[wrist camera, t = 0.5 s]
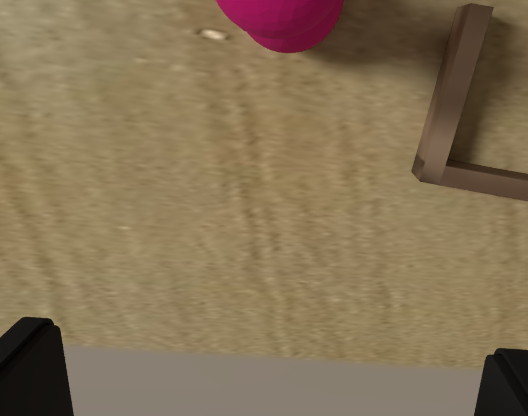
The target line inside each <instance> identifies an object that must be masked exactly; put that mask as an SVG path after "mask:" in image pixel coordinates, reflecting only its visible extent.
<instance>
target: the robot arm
mask: <svg viewBox="0 0 528 416" xmlns="http://www.w3.org/2000/svg"><path fill="white" fill-rule="evenodd" d="M0 416H74V414H73V408H72V401H71V395H70V388H69V382H68V376H67V369H66V363H65V357H64V350H63V344H62V337H61V331H60V328H59V327H58V326H56V325H54V323H53V321H52V320H51V319H49V318H37V317H23V318H21V319H20V320H19V321H18V322H16V323H15V324H14V325H13V326H12V327H11V328H10V329H9V330H8V331H7V332H6V333H5V334H4V335H2V336H1V337H0ZM474 416H528V350H521V349H506V348H498V349H496V351H495V353H494V355H487V357H486V359H485V363H484V368H483V373H482V379H481V383H480V388H479V393H478V398H477V403H476V408H475V413H474Z"/></svg>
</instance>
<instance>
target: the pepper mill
mask: <svg viewBox="0 0 528 416" xmlns="http://www.w3.org/2000/svg"><path fill="white" fill-rule="evenodd" d="M216 1H217V3H218V5H219V7H220V8H221V9H222V11H223V12H224V14H225V15H226V16H227V17H228V18H229V19H230V20H231V21H232V22H234V23H235V24H236V25H237V26H239V27H240V28H241V29H243V30H244V31H246V32H247V33H248V34H249V35H250V36H251V37H252V38H253V39H254V40H255V41H256V42H257V43H259V44H260V45H262V46H263V47H265V48H267V49H270V50H272V51H276V52H281V53H296V52H300V51H304V50H307V49H309V48H311V47H313V46H315V45H316V44H318V43H319V42H321V41H322V40H323V39H324V38H325V37H326V36H327V35H328V34H329V33H330V32H331V30H332V29H333V27H334V26H335V24H336V22H337V21H338V18H339V15H340V13H341V10H342V5H343V0H216Z"/></svg>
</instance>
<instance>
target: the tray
mask: <svg viewBox="0 0 528 416" xmlns="http://www.w3.org/2000/svg"><path fill="white" fill-rule="evenodd" d="M493 8H494V7H489V6H484V5H478V4H472V3H471V4H468V5H464V6H461V7H458V8H457V11H456V15H455V18H454V22H453V26H452V29H451V33H450V36H449V40H448V43H447V47H446V51H445V54H444V58H443V61H442V65H441V68H440V72H439V75H438V79H437V83H436V86H435V90H434V93H433V97H432V100H431V104H430V108H429V111H428V115H427V118H426V122H425V125H424V129H423V132H422V136H421V140H420V143H419V147H418V150H417V154H416V157H415V161H414V165H413V168H412V173H413V174H414V175H415V176H416V178H417V179H418V180H419V181H420V182H425V183H431V184H436V185H442V186H447V187H453V188H458V189H464V190H469V191H475V192H480V193H485V194H491V195H496V196H502V197H507V198H513V199H518V200H524V201H528V174H524V173H519V172H513V171H508V170H502V169H497V168H491V167H486V166H480V165H475V164H469V163H464V162H458V161H453V160H447V159H448V155H449V152H450V149H451V145H452V142H453V139H454V136H455V132H456V129H457V126H458V122H459V119H460V116H461V113H462V109H463V106H464V103H465V100H466V96H467V93H468V90H469V86H470V83H471V80H472V77H473V73H474V70H475V67H476V63H477V60H478V57H479V54H480V50H481V47H482V44H483V40H484V37H485V34H486V31H487V27H488V24H489V21H490V17H491V14H492V11H493Z"/></svg>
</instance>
